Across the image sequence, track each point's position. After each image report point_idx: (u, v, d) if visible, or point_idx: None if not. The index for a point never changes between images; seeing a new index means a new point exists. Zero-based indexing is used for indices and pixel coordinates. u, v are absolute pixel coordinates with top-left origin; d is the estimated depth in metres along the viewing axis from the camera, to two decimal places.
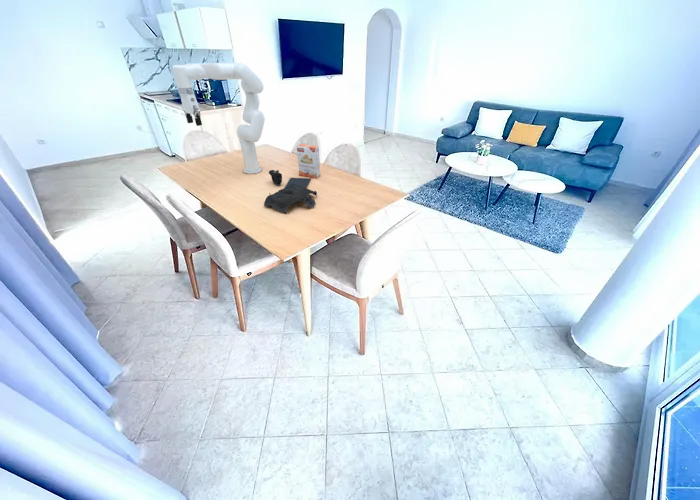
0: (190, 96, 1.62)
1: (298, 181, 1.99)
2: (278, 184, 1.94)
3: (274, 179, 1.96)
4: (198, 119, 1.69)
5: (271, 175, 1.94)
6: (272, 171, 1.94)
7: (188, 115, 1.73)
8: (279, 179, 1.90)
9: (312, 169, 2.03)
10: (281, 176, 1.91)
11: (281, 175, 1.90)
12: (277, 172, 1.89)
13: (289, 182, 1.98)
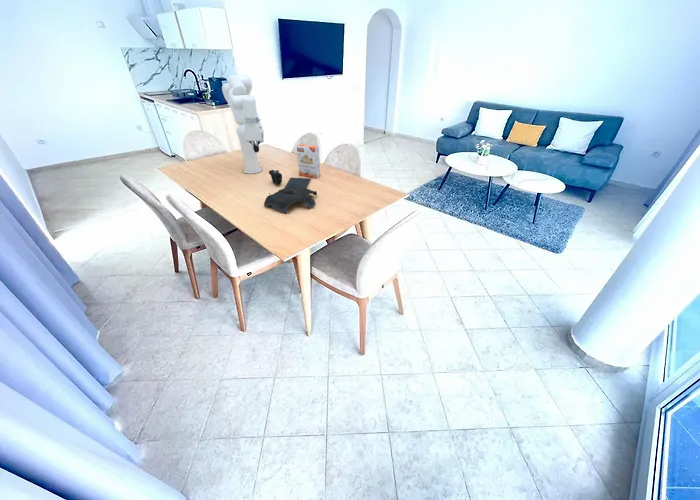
0: (259, 124, 1.76)
1: (298, 181, 1.99)
2: (278, 184, 1.94)
3: (274, 179, 1.96)
4: (258, 146, 1.83)
5: (271, 175, 1.94)
6: (272, 171, 1.94)
7: (255, 145, 1.83)
8: (279, 179, 1.90)
9: (312, 169, 2.03)
10: (281, 176, 1.91)
11: (281, 175, 1.90)
12: (277, 172, 1.89)
13: (289, 182, 1.98)
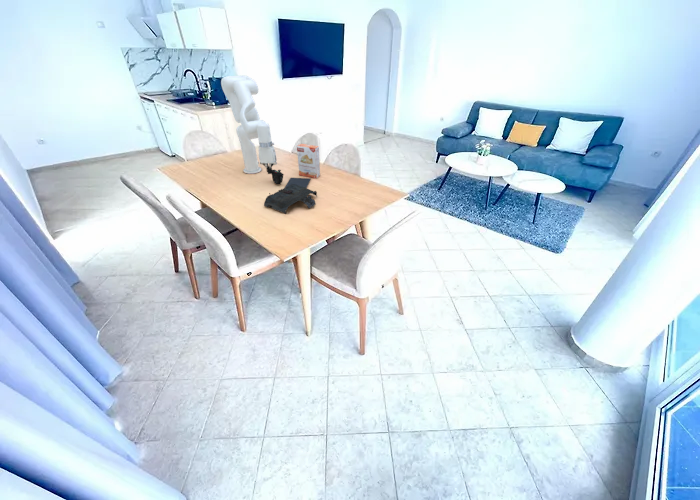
0: (272, 148, 1.83)
1: (298, 181, 1.99)
2: None
3: (275, 178, 1.96)
4: (271, 168, 1.91)
5: (272, 174, 1.94)
6: (273, 170, 1.95)
7: (268, 167, 1.90)
8: (280, 178, 1.90)
9: (312, 169, 2.03)
10: (282, 176, 1.91)
11: (282, 175, 1.91)
12: (279, 171, 1.90)
13: (289, 182, 1.98)
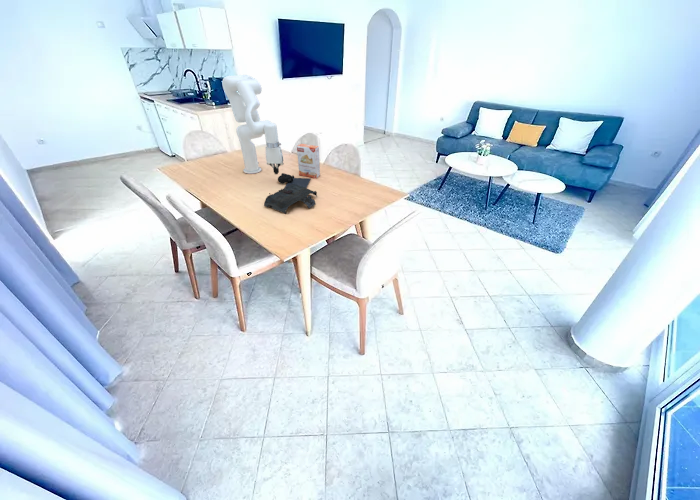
0: (279, 148, 1.83)
1: (298, 181, 1.99)
2: (282, 180, 1.95)
3: (281, 178, 1.99)
4: (278, 168, 1.91)
5: (283, 174, 2.00)
6: None
7: (275, 167, 1.90)
8: (289, 179, 1.95)
9: (312, 169, 2.03)
10: (291, 180, 1.97)
11: (292, 180, 1.97)
12: (292, 176, 1.98)
13: (289, 182, 1.98)
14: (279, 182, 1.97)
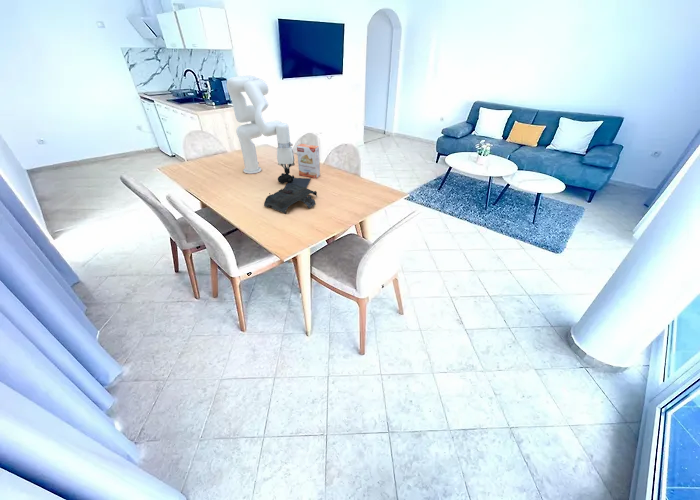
0: (291, 149, 1.83)
1: (298, 181, 1.99)
2: (282, 180, 1.95)
3: (281, 178, 1.99)
4: (289, 169, 1.90)
5: (283, 174, 2.00)
6: None
7: (286, 167, 1.90)
8: (289, 179, 1.95)
9: (312, 169, 2.03)
10: (291, 180, 1.97)
11: (292, 180, 1.97)
12: (292, 176, 1.98)
13: (289, 182, 1.98)
14: (279, 182, 1.97)
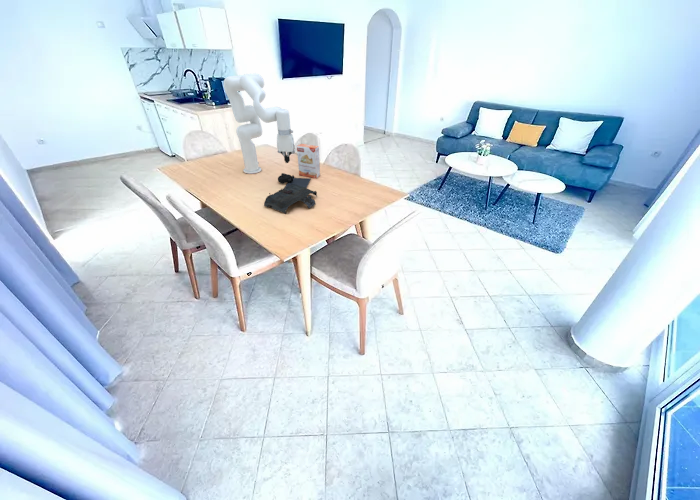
0: (291, 136, 1.78)
1: (298, 181, 1.99)
2: (282, 180, 1.95)
3: (281, 178, 1.99)
4: (289, 157, 1.86)
5: (283, 174, 2.00)
6: None
7: (286, 155, 1.86)
8: (289, 179, 1.95)
9: (312, 169, 2.03)
10: (291, 180, 1.97)
11: (292, 180, 1.97)
12: (292, 176, 1.98)
13: (289, 182, 1.98)
14: (279, 182, 1.97)
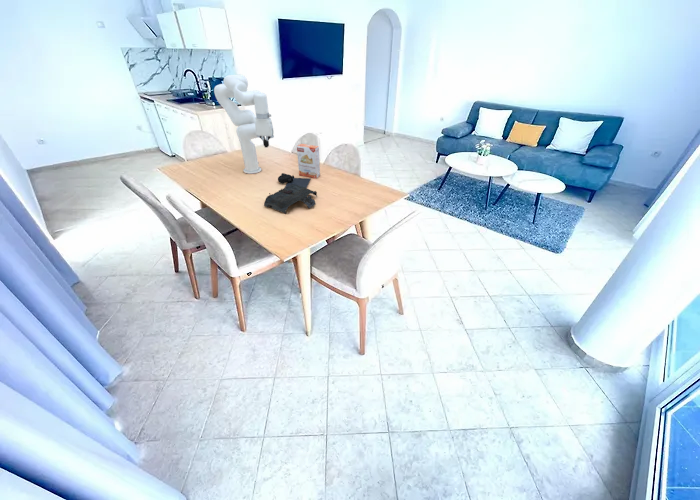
0: (270, 120, 1.79)
1: (298, 181, 1.99)
2: (282, 180, 1.95)
3: (281, 178, 1.99)
4: (268, 141, 1.87)
5: (283, 174, 2.00)
6: None
7: (265, 140, 1.87)
8: (289, 179, 1.95)
9: (312, 169, 2.03)
10: (291, 180, 1.97)
11: (292, 180, 1.97)
12: (292, 176, 1.98)
13: (289, 182, 1.98)
14: (279, 182, 1.97)
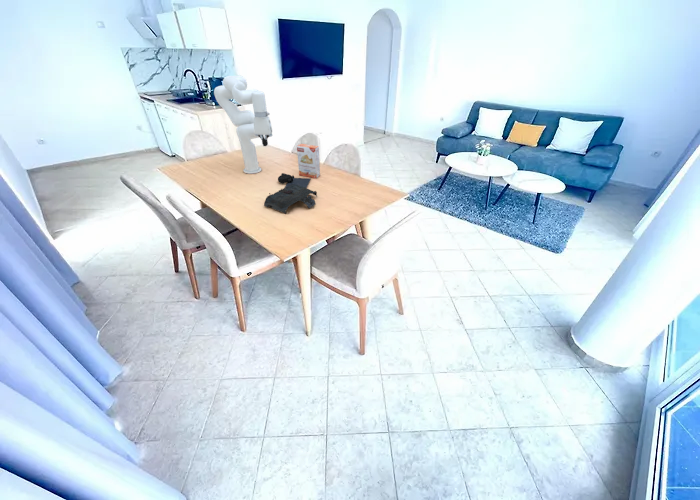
0: (268, 118, 1.79)
1: (298, 181, 1.99)
2: (282, 180, 1.95)
3: (281, 178, 1.99)
4: (266, 140, 1.87)
5: (283, 174, 2.00)
6: None
7: (263, 139, 1.86)
8: (289, 179, 1.95)
9: (312, 169, 2.03)
10: (291, 180, 1.97)
11: (292, 180, 1.97)
12: (292, 176, 1.98)
13: (289, 182, 1.98)
14: (279, 182, 1.97)
